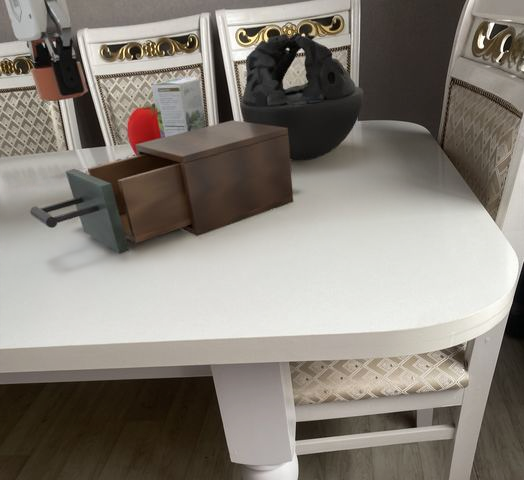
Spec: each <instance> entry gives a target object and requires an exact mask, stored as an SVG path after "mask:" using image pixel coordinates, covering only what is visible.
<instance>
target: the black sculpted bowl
mask: <svg viewBox="0 0 524 480" xmlns="http://www.w3.org/2000/svg"><path fill="white" fill-rule="evenodd" d="M314 38H315V35H309V34H308V35H305V36H304V35H302V33H301V32H296V33H294V34H293V35H291V36H288V34H287V33H282V34H280V35H275V36H270V37H268V38H267V41H265V40H261V41H260V42H259V43H258V44H257V45H256V47H255V48H254V49H253V50H251V52H250V53H249V54H248V55H247V56H246V59H245V69H246V80H245V81H246V83H245V87H244V91H243V95H242V96H241V99H242V101H240V104H239V107H240V112H241V115H242V119H243V122H247V123H255V124H262V125H270V126H277V127H284V128H288V138H289V151H290V161H294V162H299V161H301V162H303V161H310V160H315V159H317V158H320V157H323V156H325V155H327V154H329V153H330V152H332V151H333V150H335V149H336V148H337V147H338V146H340V145H341V144H342V143H343V142H344V140H345V139H347V137H348V136H349V134H350V133H351V132H352V130H353V128H354V127H355V125H356V123H357V120H358V119H359V116H360V113H361V109H362V105H363V99H364V90H363V88H362V87H359V86H356V83H355V82H354V80H353V79H352V78H351V76H350V74H349V73H348V71H347V70H346V69H345V67H344V65H343V64H342V62H340V61H339V59H337V58H333V53H332V51H331V50H330V49H329V47H327V46H326V45H323V44H321V43H319V42H317V41H316V40H314ZM301 49H302V51H303V53H304V64H303V65H304V70H305V78H306V81H307V82H306V83H304V84H301V85H300V84H299V85H294V86H290V87H287V88H284V78H285V76H286V74H287V73H288V70H289V69H290V68H291V66H292V64H293V62H294V61H295V60H296V58H297V55H298V52H299V51H300V50H301Z"/></svg>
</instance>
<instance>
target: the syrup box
mask: <svg viewBox="0 0 524 480" xmlns="http://www.w3.org/2000/svg"><path fill="white" fill-rule="evenodd" d="M151 91H152V97H153V102H154V104H155V107H156V112H157V118H158V123H159V128H160V134H161V138H164V137H168V136H172V135H176V134H180V133H184V132H188V131H192V130H196V129H200V128H204V127H207V124H206V117H205V110H204V102H203V97H202V96H203V95H202V88H201V81H200V78H198V77H190V76H189V77H187V76H185V77H184V76H182V77H181V76H180V77H174V78H170V79H167V80H164V81H161V82H160V81H159V82H157V83H154V84H151Z"/></svg>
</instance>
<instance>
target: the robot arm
mask: <svg viewBox="0 0 524 480" xmlns="http://www.w3.org/2000/svg"><path fill="white" fill-rule="evenodd" d="M4 3H5V6H6V9H7V13H8V17H9V20H10V23H11V28H12V31H13V34H14V37H15V38H16V39H17V40H18V41H20V42H26V47H27V48H28V49H29V55H30V59H31V62H32V64H33V68H37V67H43V66H49V65H52V68H53V71H54V74H55V78H56V81H57V84H58V88H59V91H60V94H61V95H62V96H67V95H72V94H77V93H82V92H84V87H83V83H82V80H81V76H80V72H79V69H78V65H77V62H78V61H77V54H76V52H75V49H74V47H73V43H74V40H73V38H72V22H71V17H70V13H69V9H68V6H67V2H66V0H4Z"/></svg>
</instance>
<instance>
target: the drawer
mask: <svg viewBox="0 0 524 480" xmlns="http://www.w3.org/2000/svg"><path fill="white" fill-rule="evenodd" d="M87 172H88V173H87ZM87 172H83V171H82V170H78V169H76V168H72V169H68V170H65V174H66V178H67V181H68V184H69V188H70V190H71V194H72V197H73V198H70V199H67V200H64V201H60V202H57V203H52V204H49V205H46V206H43V207H39V206H32V207H31V208H30V210H29V212H30V213H29V214H30V215H31V216H32V217H34V218H35V219H36V220H37V221H39V222H40V223H42V224H44V225H45V226H47V227H48V228H50V229H54V228H56V227H57V225H58V223H63V222H66V221H69V220H72V219H76V218H79V220H80V223H81V227H82V230H83V232H84V233H85V234H86V235H88V236H90V237H92V238H93V239H95V240H97V241H98V242H100V243H101V244H103V245H105V246H106V247H108V248H110V249H111V250H112V251H114V252H116V253H118V254H119V255H121V254H123V253H126V252H129V251H130V250H129V246H128V242H127V239H128V240H130V241H131V242H133V243H135V244H139V243H141V242H144V241H147V240H150V239H153V238H155V237H158V236H161V235H164V234H167V233H170V232H173V231H177V230H179V229H180V228H182V227H185V226H188V225H191V224H192V221H191V216H190V211H189V205H188V200H187V195H186V189H185V184H184V179H183V174H182V168H181V162H177V161H173V160H169V159H166V158H162V157H158V156H155V155H151V154H147V153H145V154H142V155H138V156H136V155H134V156H130V157H126V158H122V159H119V160H115V161H110V162H107V163H103V164H99V165H96V166H93V167H87ZM71 206H76V209H75V210H71V211H69V212H65V213H61V214H59V215H55V216H53V215H51V214H50V213H51V212H54V211H55V212H56V211H58V210H61V209H65V208H69V207H71Z"/></svg>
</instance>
